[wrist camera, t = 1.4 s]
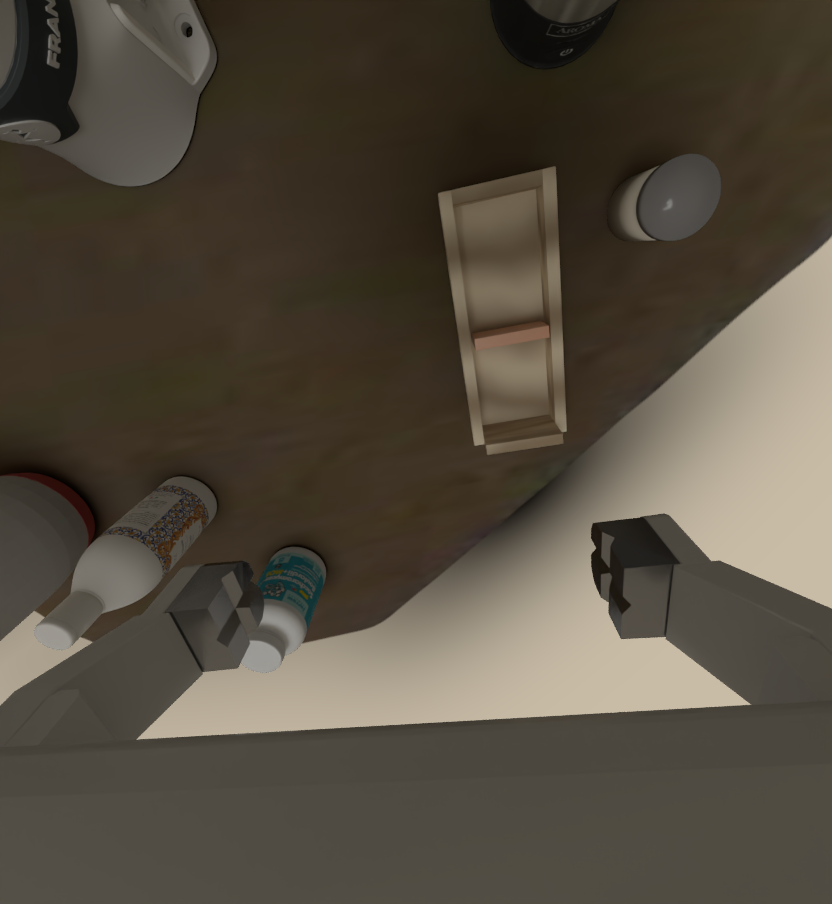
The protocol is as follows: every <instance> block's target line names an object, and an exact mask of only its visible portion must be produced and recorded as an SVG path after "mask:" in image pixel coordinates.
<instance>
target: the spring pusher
mask: <svg viewBox="0 0 832 904" xmlns="http://www.w3.org/2000/svg"><path fill="white" fill-rule="evenodd" d="M472 338H473V345H474V347H475V349H476V351H477V350H483V349H488V348H494V347H499V346H505V345H510V344H516V343H521V342H527V341H532V340H538V339H543V338H549V325H547V324H545V323H544V322H542V321H536V322H531V323H525V324H520V325H515V326H509V327H504V328H499V329H493V330H488V331H482V332H477V333H472Z"/></svg>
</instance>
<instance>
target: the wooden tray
mask: <svg viewBox="0 0 832 904" xmlns="http://www.w3.org/2000/svg"><path fill="white" fill-rule="evenodd" d="M438 203H439V210H440V217H441V224H442V230H443V237H444V244H445V251H446V258H447V265H448V272H449V279H450V285H451V292H452V299H453V306H454V313H455V320H456V327H457V334H458V340H459V347H460V354H461V361H462V368H463V375H464V382H465V389H466V395H467V402H468V409H469V416H470V423H471V430H472V435H473V440H474V445H481V444H485V448H486V451H487V455H490V454H497V453H504V452H510V451H517V450H523V449H530V448H537V447H543V446H550V445H556V444H563V433H562V432H566V431H567V429H566V405H565V380H564V356H563V331H562V307H561V282H560V258H559V233H558V208H557V184H556V166H554V167H550V168H546V169H541V170H537V171H533V172H528V173H524V174H520V175H515V176H511V177H506V178H502V179H498V180H493V181H489V182H485V183H480V184H476V185H472V186H467V187H463V188H459V189H454V190H450V191H445V192H441V193H438ZM536 321H542V322H544V323H545V324H547V325H549V338H543V339H538V340H532V341H527V342H521V343H516V344H510V345H505V346H499V347H494V348H488V349H483V350H477V351H476V349H475V347H474V345H473V338H472V333H477V332H482V331H488V330H493V329H499V328H504V327H509V326H515V325H520V324H525V323H531V322H536Z"/></svg>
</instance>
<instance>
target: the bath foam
mask: <svg viewBox="0 0 832 904" xmlns="http://www.w3.org/2000/svg"><path fill="white" fill-rule="evenodd" d="M216 511H217V502H216V499H215V496H214V495H213V493H212V492H211V490H210V489H209V488H208V487H207V486H206V485H204V484H203V483H202V482H200V481H198V480H195V479H193V478H189V477H183V476H180V477H173V478H171V479H168V480H167V481H165V482H164V483H163V484H161V485H160V486H159V487H158V488H157V489H155V490H154V491H153V492H152V493H150V494H149V495H148V496H147V497H146V498H144V499H143V500H142V501H141V502H140V503H139V504H137V505H136V506H135V507H134V508H133V509H131V510H130V511H129V512H128V513H127V514H125V515H124V516H123V517H122V518H121V519H119V520H118V521H117V522H116V523H115V524H114V525H112V526H111V527H110V528H109V529H108V530H106V531H105V532H104V533H103V534H102V535H100V536H99V537H98V538H97V539H96V540H95V541H93V542H92V544H91V545H90V546H89V547H88V548H87V549H86V551H85V552H84V553H83V555H82V556H81V558H80V559H79V561H78V563H77V566H76V568H75V572H74V576H73V581H72V588H71V594H70V595H69V596H68V597H67V598H66V599H65V600H64V601H62V602H61V603H60V604H59V605H58V606H57V607H56V608H55V609H54V610H53V611H52V612H51V613H49V614H48V615H47V616H46V617H45V618H44V619H43V620H42V621H41V622H40V623H39V624H38V625H37V626H36V628H35V630H34V634H35V637H36V638H37V639H38V641H39V642H41V643H42V644H43V645H45V646H47V647H49V648H52V649H57V650H64V649H67V648H69V647H71V646H72V645H73V644H74V643H75V642H76V641H77V640H78V639H79V638H80V636H81V635H82V634H83V633H84V632H85V631H86V630H87V629H88V628H89V627H90V626H91V625H92V624H93V622H94V621H95V620H96V619H97V618H98V617H99V616H100V615H101V614H102V613H105V612H108V611H112V610H115V609H118V608H121V607H124V606H127V605H129V604H132V603H134V602H136V601H137V600H139V599H141V598H142V597H144V596H145V595H147V594H148V593H149V592H150V591H151V590H153V589H154V588H155V587H156V586H157V585H158V584H159V583H160V582H161V580H162V579H163V578H164V577H165V576H166V574H167V573H168V572H169V571H170V570H171V568H172V567H173V566H174V565H175V564H176V562H177V561H178V560H179V559H180V558H181V557H182V555H183V554H184V553H185V552H186V551H187V549H188V548H189V547H190V546H191V545H192V543H193V542H194V541H195V540H196V539H197V537H198V536H199V535H200V534H201V533H202V532H203V530H204V529H205V528H206V527H207V525H208V524H209V523H210V522H211V521H212V519H213V518H214V516H215V514H216Z"/></svg>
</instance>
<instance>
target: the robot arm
mask: <svg viewBox="0 0 832 904" xmlns="http://www.w3.org/2000/svg"><path fill="white" fill-rule="evenodd" d="M188 27H192V30H193V33H192V36H191V37H187V35H186V30H187V28H188ZM216 61H217V53H216V48H215V45H214V43H213V40H212V38H211V36H210V34H209V32H208V30H207V27H206V25H205V23H204V21H203V19H202V16H201V14H200V12H199V10H198V8H197V6H196V3H195V1H194V0H0V140H4V141H8V142H13V143H19V144H27V145H36V146H39V147H41V148H43V149H45V150H48V151H50V152H52V153H54V154H56V155H58V156H60V157H62V158H64V159H66V160H67V161H69V162H70V163H72V164H74V165H75V166H76V167H78V168H79V169H81V170H82V171H84V172H86V173H87V174H89V175H91V176H93V177H95V178H97V179H99V180H102V181H104V182H107V183H110V184H115V185H120V186H141V185H146V184H149V183H152V182H154V181H157V180H159V179H161V178H162V177H164V176H165V175H167V174H168V173H169V172H170V171H171V170H172V169H173V168H174V167H175V166H176V165H177V164H178V163H179V161H180V160H181V158H182V157H183V155H184V153H185V151H186V149H187V147H188V145H189V142H190V140H191V136H192V133H193V129H194V124H195V117H196V110H197V104H198V99H199V96H200V93H201V92H202V90H203V88H204V87H205V85H206V84H207V82H208V80H209V79H210V77H211V75H212V73H213V71H214V68H215V65H216ZM591 539H592V541H593V542H594V545H595V546H596V549H595V551H594V552H593V553H592V555H591V567H592V573H593V578H594V582H595V585H596V587H597V590H598V592H599V594H600V596H601V598H603V599H604V600H606V601H607V602H609V615H610V617H611V619H612V621H613V623H614V625H615V627H616V630H617V632H618V634H619V636H620V638H621V639H628V638H629V639H630V638H650V637H666V639H667V640H668V641H669V642H670V643H672V644H673V645H675V646H676V647H677V648H678V649H680V650H681V651H682V652H683V653H685V654H686V655H687V656H689V657H690V658H691V659H693V660H694V661H695V662H697V663H698V664H699V665H701V666H702V667H703V668H704V669H706V670H707V671H708V672H710V673H711V674H712V675H713V676H715V677H716V678H717V679H719V680H720V681H721V682H723V683H724V684H725V685H727V686H728V687H729V688H730V689H732V690H733V691H734V692H736V693H737V694H738V695H740V696H741V697H742V698H743V699H745V700H746V701H747V702H749V703H750V704H751V705H742V706H724V707H706V708H689V709H672V710H654V711H636V712H618V713H601V714H582V715H565V716H548V717H531V718H513V719H495V720H494V719H493V720H476V721H458V722H442V723H422V724H405V725H388V726H371V727H352V728H334V729H317V730H301V731H281V732H264V733H246V734H229V735H211V736H194V737H176V738H158V739H140V740H136V739H137V738H138V737H139V736H140V735H141V734H142V733H143V732H144V731H145V730H146V729H147V728H148V727H149V726H150V725H151V724H152V723H153V722H154V721H155V720H156V719H157V718H158V717H159V716H161V715H162V714H163V713H164V712H165V710H167V709H168V708H169V707H170V706H171V704H173V703H174V702H175V701H176V700H177V699H178V698H179V697H180V696H181V695H182V694H183V693H184V692H185V691H186V690H187V689H188V688H189V687H190V686H191V685H192V684H193V683H194V682H195V681H196V680H197V679H198V678H199V677H200V676H201V675H202V672H207V671H216V670H226V669H235V668H238V667H239V665H240V663H241V661H242V659H243V657H244V655H245V653H246V651H247V649H248V647H249V645H250V641H249V638H248V635H250V634H251V633H252V632H253V631H254V630H256V629H257V628H258V626H259V624H260V622H261V620H262V618H263V612H264V599H263V594H262V592H261V589H260V587H258V586H257V585H256V584H254V583H253V582H251V580H252V577H253V575H254V573H253V571H252V568H251V566H250V564H249V563H248V562H245V561H232V562H221V563H209V564H199V565H190V566H186V567H184V568H181V569H180V571H179V572H178V573H177V574H176V575H175V576H174V578H173V579H172V580H171V581H170V582H169V584H168V585H167V586H166V587H165V588H164V589H163V591H162V592H161V593H160V594H159V595H158V597H157V598H156V599H155V600H154V601H153V602H152V604H151V605H150V606H149V607H148V608H147V610H146V611H145V612H144V613H143V614H142V615H141V616H135V617H133V618H131V619H130V620H128V621H127V622H125V623H123V624H122V625H120V626H119V627H117V628H115V629H114V630H112V631H111V632H109V633H107V634H106V635H104V636H103V637H101V638H99V639H98V640H96V641H95V642H93V643H91V644H90V645H88V646H87V647H85V648H83V649H82V650H80V651H79V652H77V653H76V654H74V655H72V656H71V657H69V658H68V659H66V660H64V661H63V662H61V663H60V664H58V665H57V666H55V667H53V668H52V669H50V670H48V671H47V672H45V673H44V674H42V675H40V676H39V677H37V678H36V679H34V680H32V681H31V682H29V683H28V684H26V685H24V686H23V687H21V688H20V689H18V690H16V691H15V692H14V693H13V694H12V695H11V696H10V697H9V698H8V699H7V700H6V701H5V702H4V703H3V704H2V705H1V706H0V904H832V609H831V608H829V607H827V606H824V605H822V604H820V603H817V602H815V601H812V600H810V599H808V598H806V597H803V596H801V595H799V594H796V593H794V592H791V591H789V590H787V589H784V588H782V587H780V586H778V585H775V584H773V583H771V582H768V581H766V580H763V579H761V578H759V577H756V576H754V575H752V574H749V573H747V572H745V571H742V570H740V569H738V568H735V567H733V566H731V565H728V564H726V563H724V562H721V561H711V560H710V559H709V558H708V557H707V556H706V555H705V554H704V553H703V552H702V551H701V549H700V548H699V547H698V546H697V545H696V544H695V543H694V542H693V541H692V540H691V539H690V538H689V536H688V535H687V534H686V533H685V532H684V531H683V530H682V529H681V528H680V527H679V526H678V524H677V523H676V522H675V521H674V520H673V519H672V518H671V517H670V516H669V515H667V514H658V515H651V516H644V517H640V518H633V519H624V520H615V521H607V522H598V523H593V525H592V529H591Z"/></svg>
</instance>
